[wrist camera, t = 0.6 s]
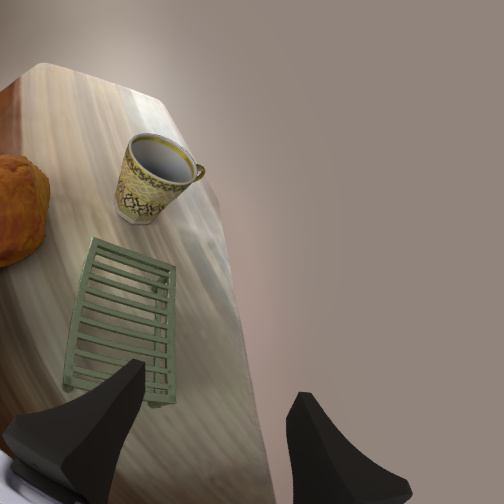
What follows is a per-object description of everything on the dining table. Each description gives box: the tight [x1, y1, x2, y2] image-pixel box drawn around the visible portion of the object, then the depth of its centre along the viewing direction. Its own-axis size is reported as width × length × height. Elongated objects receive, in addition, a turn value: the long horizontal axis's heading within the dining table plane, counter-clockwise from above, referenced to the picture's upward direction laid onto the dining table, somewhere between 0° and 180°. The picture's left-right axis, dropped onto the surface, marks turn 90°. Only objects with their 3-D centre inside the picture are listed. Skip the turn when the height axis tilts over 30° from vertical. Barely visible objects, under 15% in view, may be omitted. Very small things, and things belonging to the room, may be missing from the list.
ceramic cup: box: [114, 133, 205, 224], centre depth 36 cm, size 13×10×10 cm
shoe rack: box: [62, 237, 177, 408], centre depth 24 cm, size 15×10×5 cm, turn 9°
